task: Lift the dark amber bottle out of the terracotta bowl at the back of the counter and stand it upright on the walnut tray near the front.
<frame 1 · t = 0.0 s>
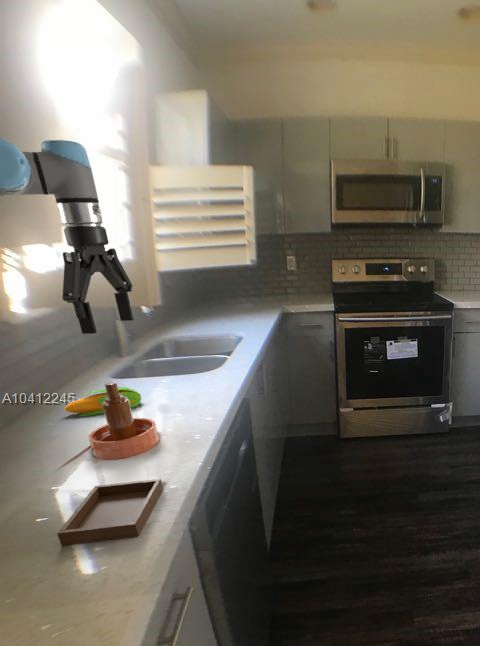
hand: (109, 326, 103), 30 cm above the worktop, tool pointing down, fingers open, 13 cm apart
corn: (106, 414, 136), on the worktop
bottle: (127, 445, 114), point 1 cm above the worktop, touching bowl
bowl: (127, 447, 114), on the worktop
tray: (117, 515, 87), on the worktop
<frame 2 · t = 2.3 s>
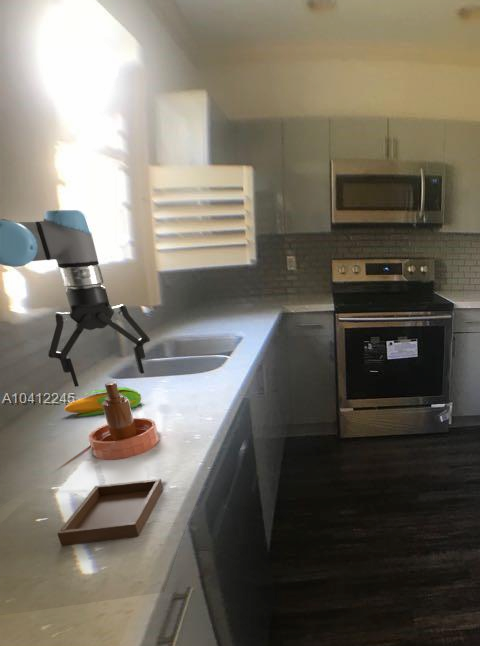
hand: (110, 378, 108), 18 cm above the worktop, tool pointing down, fingers open, 13 cm apart
nothing on the worktop moved.
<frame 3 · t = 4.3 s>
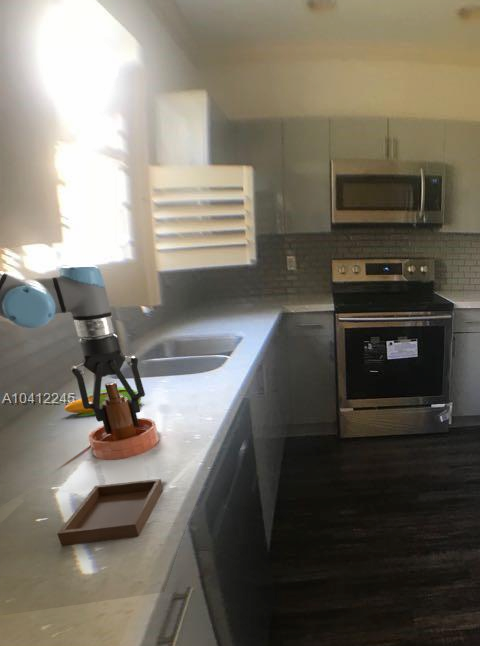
hand: (122, 428, 112), 5 cm above the worktop, tool pointing down, fingers closed on bottle, 6 cm apart
bottle: (127, 445, 114), point 1 cm above the worktop, touching bowl, gripper
everything else where it was.
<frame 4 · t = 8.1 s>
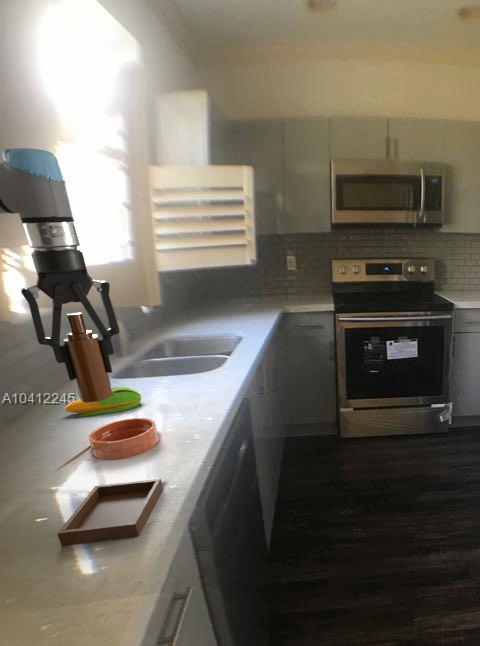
hand: (90, 374, 89), 25 cm above the worktop, tool pointing down, fingers closed on bottle, 6 cm apart
bottle: (97, 397, 90), point 20 cm above the worktop, touching gripper
everything else where it was.
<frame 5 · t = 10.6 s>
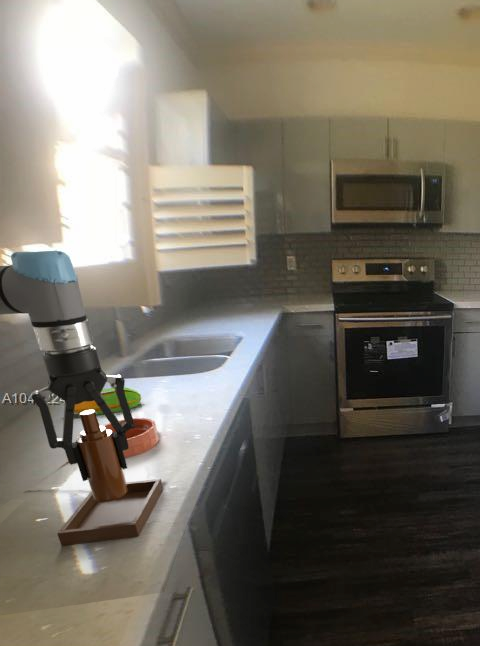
hand: (104, 471, 84), 10 cm above the worktop, tool pointing down, fingers closed on bottle, 6 cm apart
bottle: (111, 493, 85), point 5 cm above the worktop, touching gripper
everything else where it was.
when the fingers open (5 cm above the worktop, at t = 12.2 s): bottle stays where it is, resting on tray.
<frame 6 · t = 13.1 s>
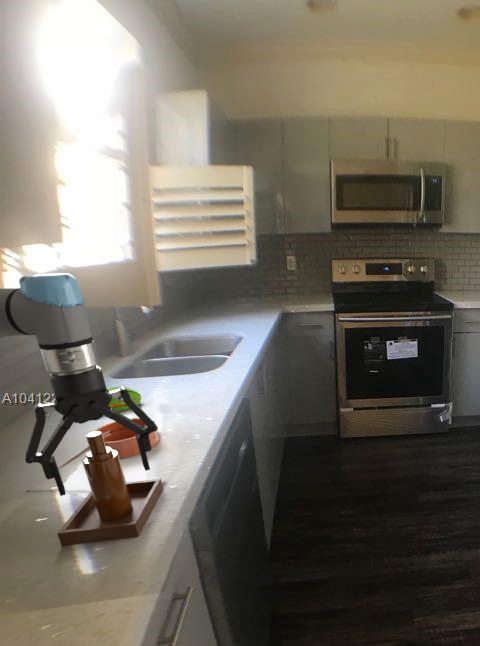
hand: (106, 479, 84), 8 cm above the worktop, tool pointing down, fingers open, 13 cm apart
bottle: (116, 512, 87), point 1 cm above the worktop, touching tray
everything else where it was.
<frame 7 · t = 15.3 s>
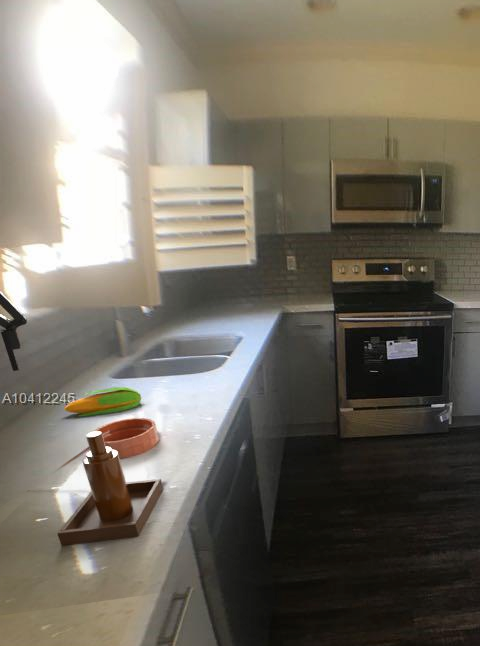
nothing on the worktop moved.
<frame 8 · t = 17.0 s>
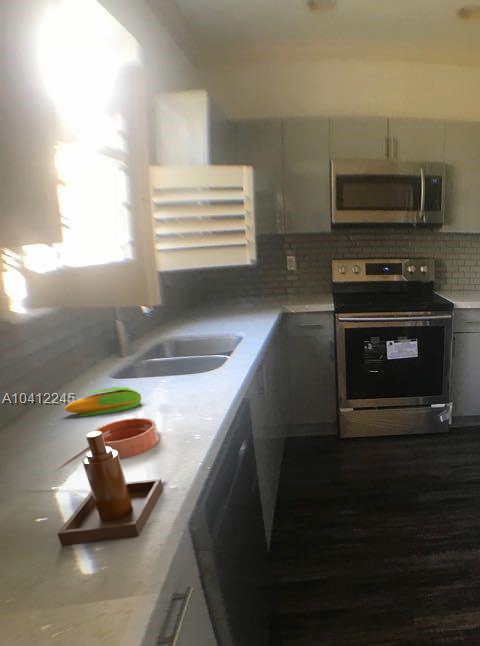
nothing on the worktop moved.
at the end: bottle inside the target area in the tray (0.1 cm from its centre), point 0.6 cm above the tray's base; bottle tilted 0°; the gripper is holding nothing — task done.
